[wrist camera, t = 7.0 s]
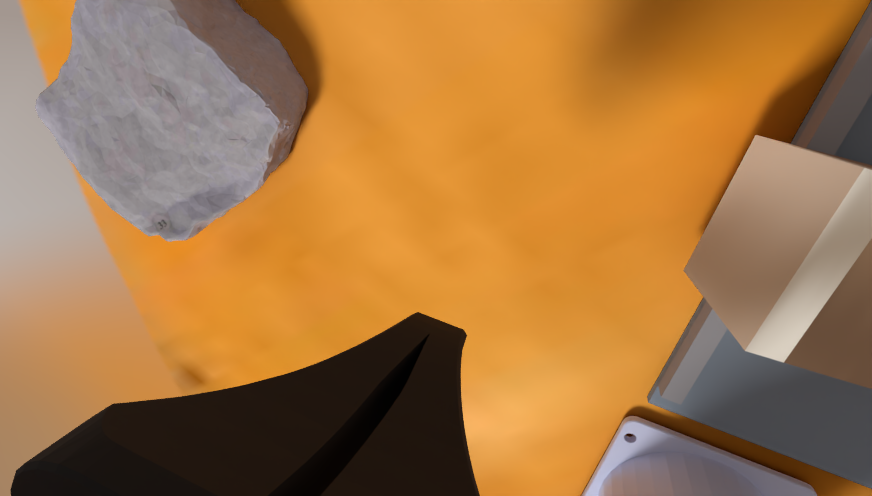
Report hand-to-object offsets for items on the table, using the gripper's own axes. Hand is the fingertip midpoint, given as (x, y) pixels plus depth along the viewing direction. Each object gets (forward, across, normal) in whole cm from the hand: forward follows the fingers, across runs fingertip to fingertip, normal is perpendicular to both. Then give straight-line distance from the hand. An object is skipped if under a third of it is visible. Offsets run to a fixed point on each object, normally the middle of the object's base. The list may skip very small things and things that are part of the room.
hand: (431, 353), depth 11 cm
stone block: (+10, +16, -1) cm, 19 cm away
